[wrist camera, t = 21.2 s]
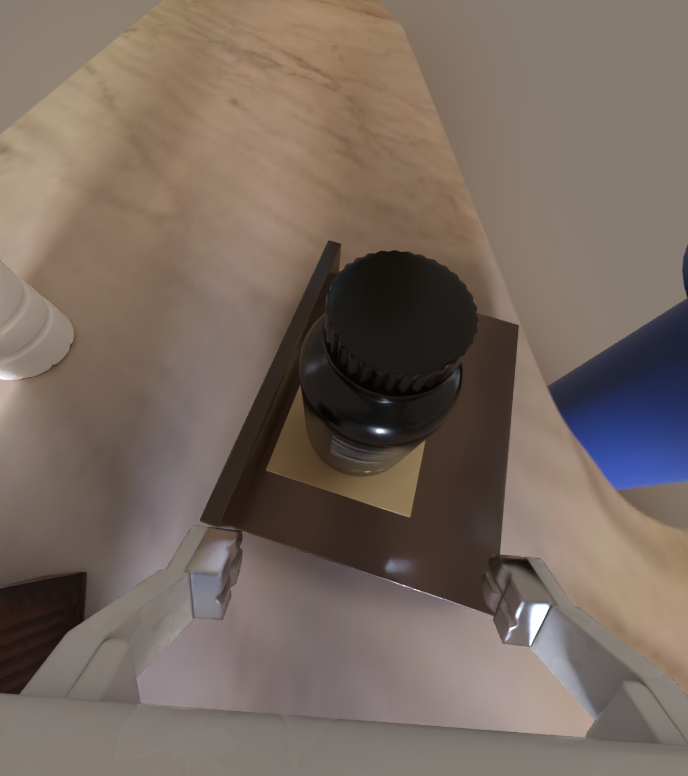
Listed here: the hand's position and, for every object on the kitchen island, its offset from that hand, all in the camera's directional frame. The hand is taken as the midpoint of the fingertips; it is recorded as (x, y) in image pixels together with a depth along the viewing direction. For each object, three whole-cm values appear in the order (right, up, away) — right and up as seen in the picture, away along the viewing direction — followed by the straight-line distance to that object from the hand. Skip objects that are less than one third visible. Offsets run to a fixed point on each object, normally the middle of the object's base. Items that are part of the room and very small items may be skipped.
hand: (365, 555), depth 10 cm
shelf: (+2, +3, +14) cm, 14 cm away
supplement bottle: (0, +3, +10) cm, 11 cm away
